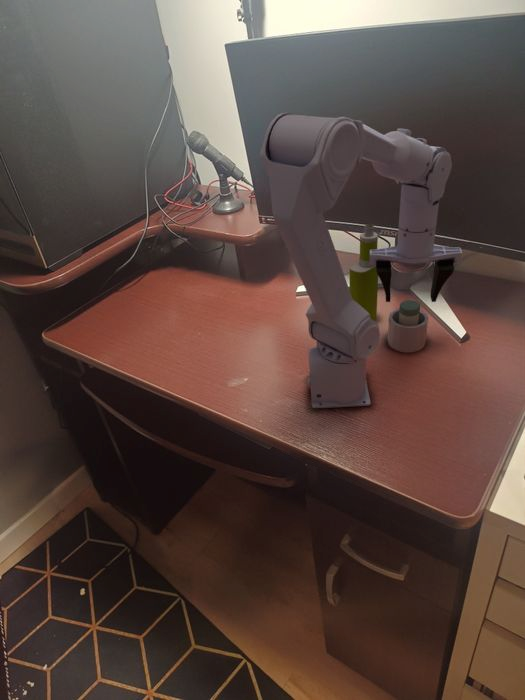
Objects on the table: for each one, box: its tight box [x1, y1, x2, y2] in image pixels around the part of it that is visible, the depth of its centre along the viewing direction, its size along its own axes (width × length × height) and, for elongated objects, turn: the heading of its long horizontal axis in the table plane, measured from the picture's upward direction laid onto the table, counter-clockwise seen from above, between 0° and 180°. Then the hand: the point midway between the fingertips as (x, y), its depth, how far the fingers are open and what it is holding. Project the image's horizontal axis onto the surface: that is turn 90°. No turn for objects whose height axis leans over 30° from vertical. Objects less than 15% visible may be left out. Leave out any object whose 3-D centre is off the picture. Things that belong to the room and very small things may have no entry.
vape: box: [349, 223, 379, 322], centre depth 88 cm, size 4×6×20 cm, turn 129°
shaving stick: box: [398, 299, 421, 326], centre depth 85 cm, size 4×4×8 cm
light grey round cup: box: [387, 307, 429, 353], centre depth 86 cm, size 7×7×6 cm
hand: (410, 299), depth 82 cm, fingers open, 7 cm apart
